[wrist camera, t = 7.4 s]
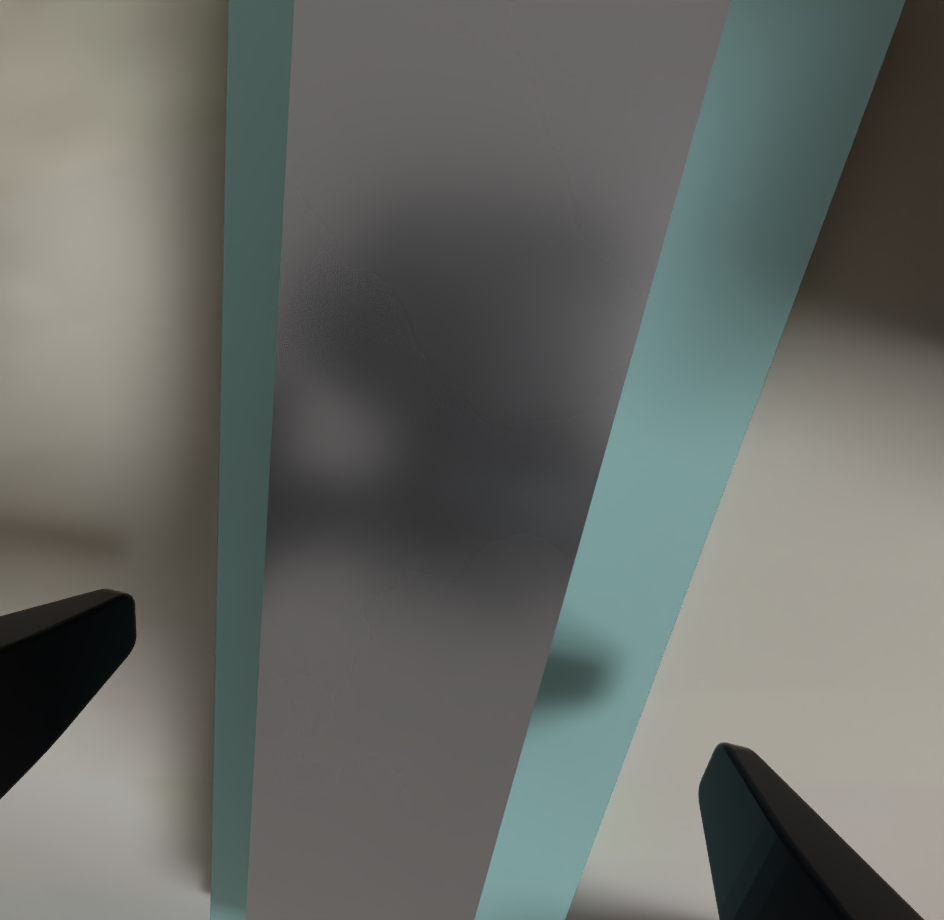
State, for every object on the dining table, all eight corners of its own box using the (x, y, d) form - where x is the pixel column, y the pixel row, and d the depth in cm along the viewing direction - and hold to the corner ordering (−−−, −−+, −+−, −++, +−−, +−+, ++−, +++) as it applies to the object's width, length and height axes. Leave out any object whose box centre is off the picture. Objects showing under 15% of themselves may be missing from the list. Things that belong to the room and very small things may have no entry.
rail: (434, 963, 11) (398, 1192, 8) (311, 927, 11) (234, 1137, 8) (670, 22, 6) (816, -305, 3) (423, -12, 6) (313, -349, 3)
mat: (528, 986, 12) (527, 1020, 11) (225, 897, 12) (210, 925, 12) (885, -14, 6) (925, -52, 5) (259, -97, 6) (231, -139, 6)
